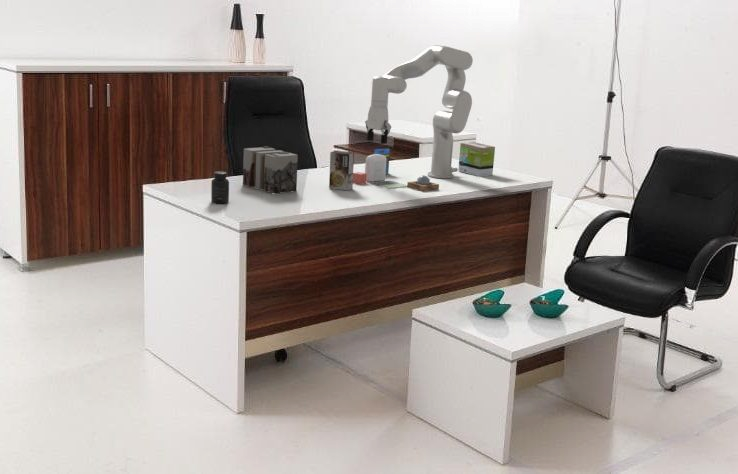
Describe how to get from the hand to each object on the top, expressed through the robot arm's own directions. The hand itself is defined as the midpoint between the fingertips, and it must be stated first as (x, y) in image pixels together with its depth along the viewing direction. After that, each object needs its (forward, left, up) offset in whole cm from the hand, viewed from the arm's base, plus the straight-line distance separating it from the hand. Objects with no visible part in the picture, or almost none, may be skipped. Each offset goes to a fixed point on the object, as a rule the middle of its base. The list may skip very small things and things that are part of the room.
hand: (376, 141), depth 414 cm
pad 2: (0, +14, -18) cm, 23 cm away
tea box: (-61, +5, -18) cm, 64 cm away
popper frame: (-9, +23, -18) cm, 31 cm away
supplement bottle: (+88, +11, -18) cm, 90 cm away
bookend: (+54, -6, -18) cm, 57 cm away
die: (+10, +1, -18) cm, 21 cm away
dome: (-9, +23, -17) cm, 30 cm away
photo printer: (0, 0, -18) cm, 18 cm away
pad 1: (0, +7, -18) cm, 19 cm away
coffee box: (+26, +8, -18) cm, 33 cm away
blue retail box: (-14, -14, -18) cm, 27 cm away
